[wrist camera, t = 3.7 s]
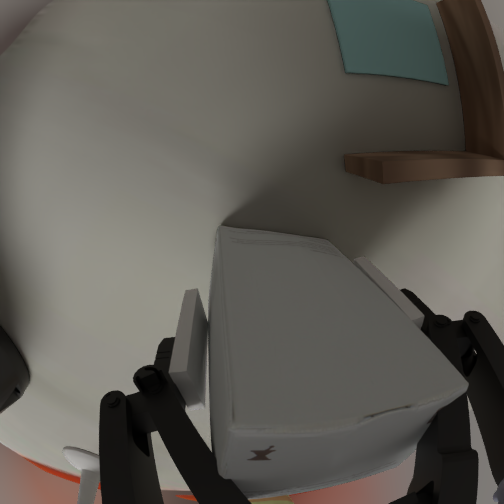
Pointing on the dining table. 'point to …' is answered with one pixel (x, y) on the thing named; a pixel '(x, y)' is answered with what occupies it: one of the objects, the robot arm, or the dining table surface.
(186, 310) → the robot arm
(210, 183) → the dining table surface
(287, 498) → the potted cactus
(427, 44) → the pad
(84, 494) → the candlestick
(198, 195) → the dining table surface
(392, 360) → the skincare box
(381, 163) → the wooden corner bracket
